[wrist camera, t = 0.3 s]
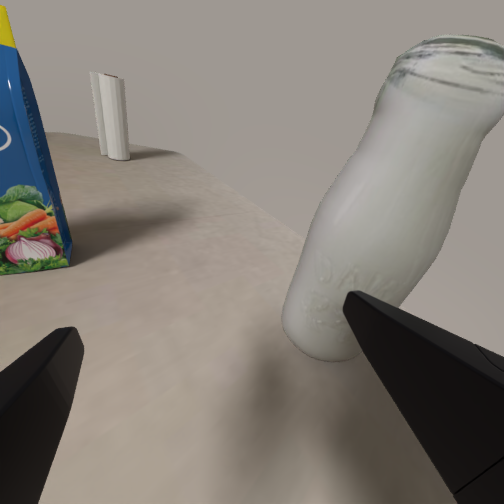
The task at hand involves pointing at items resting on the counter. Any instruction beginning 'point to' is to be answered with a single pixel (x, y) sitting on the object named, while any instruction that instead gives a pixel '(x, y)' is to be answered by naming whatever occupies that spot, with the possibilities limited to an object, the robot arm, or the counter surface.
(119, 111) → the paper towel roll
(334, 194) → the glass bottle
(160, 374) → the counter surface
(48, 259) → the blue food package
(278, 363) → the counter surface
